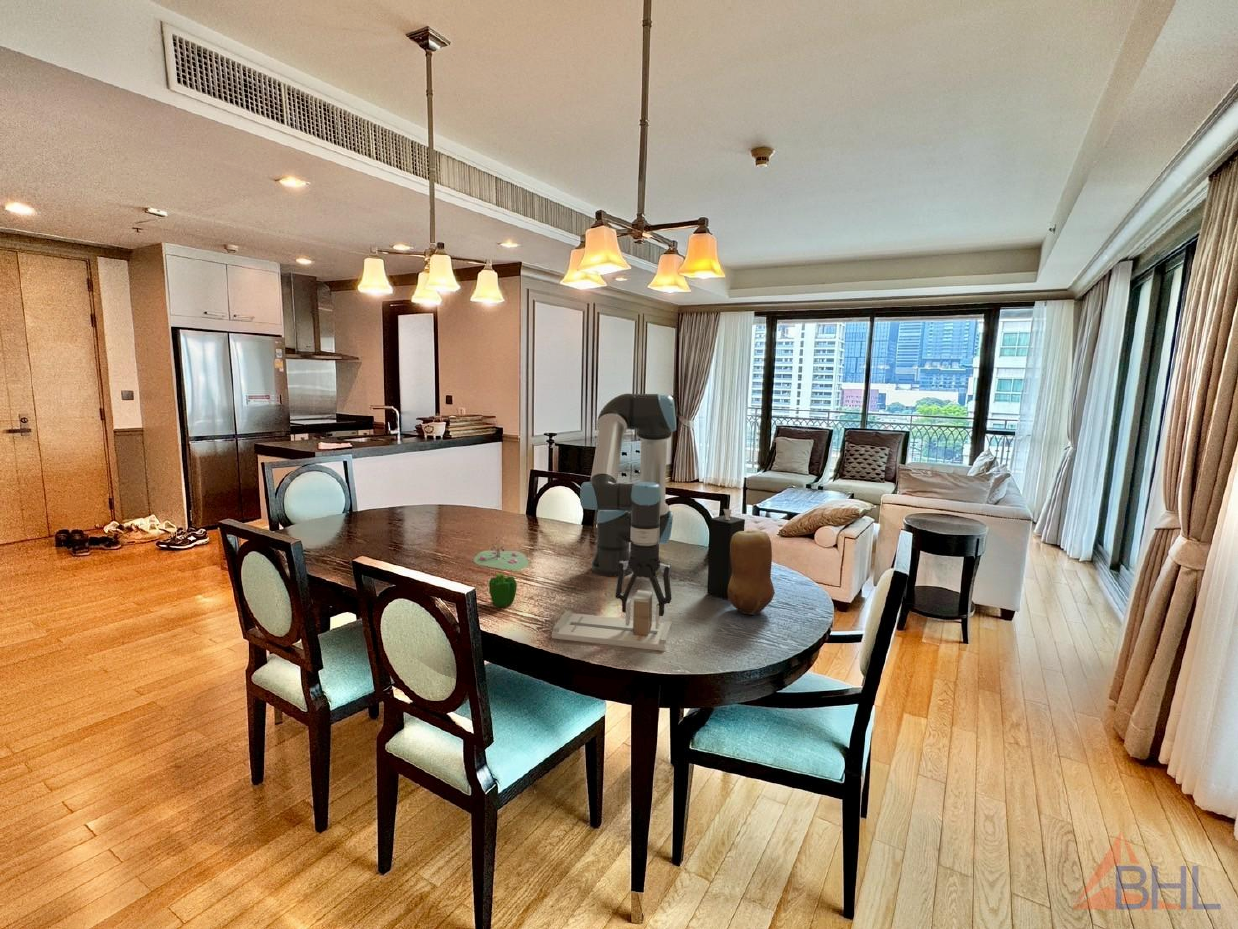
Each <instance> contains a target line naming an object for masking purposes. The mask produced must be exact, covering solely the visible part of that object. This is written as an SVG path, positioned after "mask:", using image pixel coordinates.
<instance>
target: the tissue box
mask: <svg viewBox="0 0 1238 929" xmlns="http://www.w3.org/2000/svg"><path fill="white" fill-rule="evenodd" d="M732 511H733V510H732V509H730V508H728V509H727V508H723V512H724V514H723V515H719V516H716V517H711V518H710V519H709V538H708V540H709V544H708V565H707V566H708V568H707V571H708V572H707V588H706V593H707V594H709V595H712V596H715V597H718V598H721V599H724V600H729V597H728V585H729V581H730V578H731V575H732V564H731V557H730V542H731V539H732V536H733V535H734V534H735V533H737V532H739V531H745V525H746V519H745V518H741V517H735V516H731V514H732Z"/></svg>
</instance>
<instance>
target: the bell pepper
mask: <svg viewBox="0 0 1238 929" xmlns="http://www.w3.org/2000/svg"><path fill="white" fill-rule="evenodd" d="M517 584H518V583H517V581H516V579H515V578H514V577H513V576H512V575H511V576H504V574H503V573H500V572H499V573H498V574H497V575H496V576H495V577H491V578H490V580H489V584H488V585H489V587H488V588H489V589H488V590H489V593H490V594H489V595H490V598H491V601H492V603H493V605H494V606H496V607H499V608H501V607H502V608H503V607H506V606H508V605H512V604H513V603H514V601H515V598H516V594H517V590H518V589H517V588H518V587H517V586H518V585H517Z"/></svg>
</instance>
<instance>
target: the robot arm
mask: <svg viewBox="0 0 1238 929" xmlns="http://www.w3.org/2000/svg"><path fill="white" fill-rule="evenodd" d="M676 419H677V418H676V407H675V400H674V398H673V396H672V395H669V394H662V393H661V394H660V393H623V394H619V395H617V396H615V397H614V398H612V399H610V401H608V402H607V403H606V404H605V405H604V407H603V408H602V409H601V411H600V412H599V414H598V417H597V420H596V429H597V431H598V435H597V441H596V444H595V445H596V447H595V452H594V458H593V464H592V469H591V476H590V481H584V482H582V483H581V486H580V492H579V499H580V500H579V501H580V506H581V508H583V509H585V510H594V511H597V513H596V514H597V515H596V517H597V518H596V521H595V522H596V550H595V552H594V555H593V558H592V561H591V571H592V572H593V574H596V575H599V576H604V577H605V576H606V577H618V578H617V585H616V588H615V589H616V590H615V599H617V600H618V599H619V600H620V601H621V612H622V613H625V619H626V625H625V626H629V624H630V619H631V610H632V608H631V605H632V604H631V603H632V602H631V599H632V598H629V596H630V594H631V592H632V589H633V587H634V585H635V582H636V580H637V579H638V578H646V579H647V578H648V579H649V581H650V583H651V585H652V586H651V587H652V588H653V591H654V593H655V595H656V599H657V602H656V605H655V622H656V627H655V629H659V626H660V622H661V617H664V614H665V605H667V604H670V603H671V602H672V598H673V597H672V589H671V581H670V580H671V579H670V569H671V565H670V564H668V563H667V564H665V563H662V562H661V561H660V545H661V544H662V545H664V544H667V543H668V542H669V541H670V538H671V534H672V529H673V528H672V527H673V522H674V511H672V510H670V506H669V505H668V503H666V487H667V486H666V484H667V483H666V482H667V480H666V479H667V451H668V450H667V449H668V448H667V447H668V446H667V445H668V443H667V442H668V440H669V439H670V438H671V437H672V436H673V434H672V433H673V432H675V431H677V420H676ZM627 430H630V431H632V430H634V431H636V436H637V438H638V439H639V440H640V481H638V482H634V483H625V482H624V483H623V482H622V483H619V482H618V478H619V476H618V475H619V469H620V462H621V452H622V443H623V436H624V435H625V434H626V432H627ZM659 569H660V572H661V573H662V574H663V576H662V578H663V580H662V581H663V587H664V594H663V591H662V589H661V588H662V587H661V585H660V582H659V580H658V576H657V573H656V572H657V571H658V570H659ZM630 574H632V575H631V577H630V580H629V582H628V585H627V587H626V588H625V591H624V593H623V587H624V583H625V582H624V581H625V576H627V575H630ZM664 595H665V596H664Z"/></svg>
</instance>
